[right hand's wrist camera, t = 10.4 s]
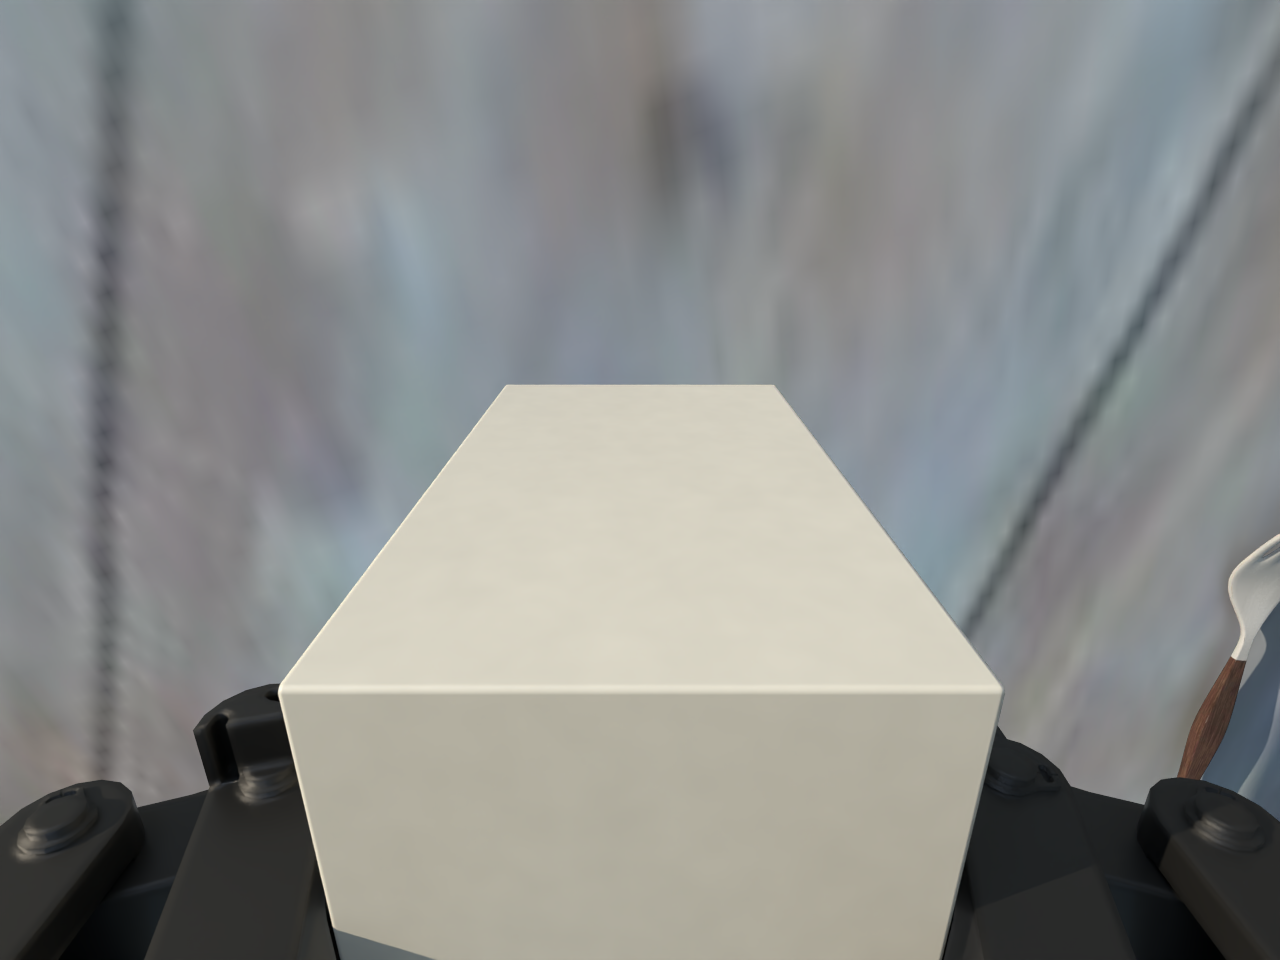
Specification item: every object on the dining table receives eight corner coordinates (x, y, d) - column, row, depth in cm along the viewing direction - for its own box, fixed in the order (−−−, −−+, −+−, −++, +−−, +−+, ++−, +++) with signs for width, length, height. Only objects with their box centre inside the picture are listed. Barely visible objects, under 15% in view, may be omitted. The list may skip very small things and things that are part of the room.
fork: (1127, 821, 31) (1159, 860, 29) (1261, 491, 25) (1311, 514, 23) (1184, 823, 31) (1220, 862, 29) (1331, 494, 25) (1386, 517, 23)
